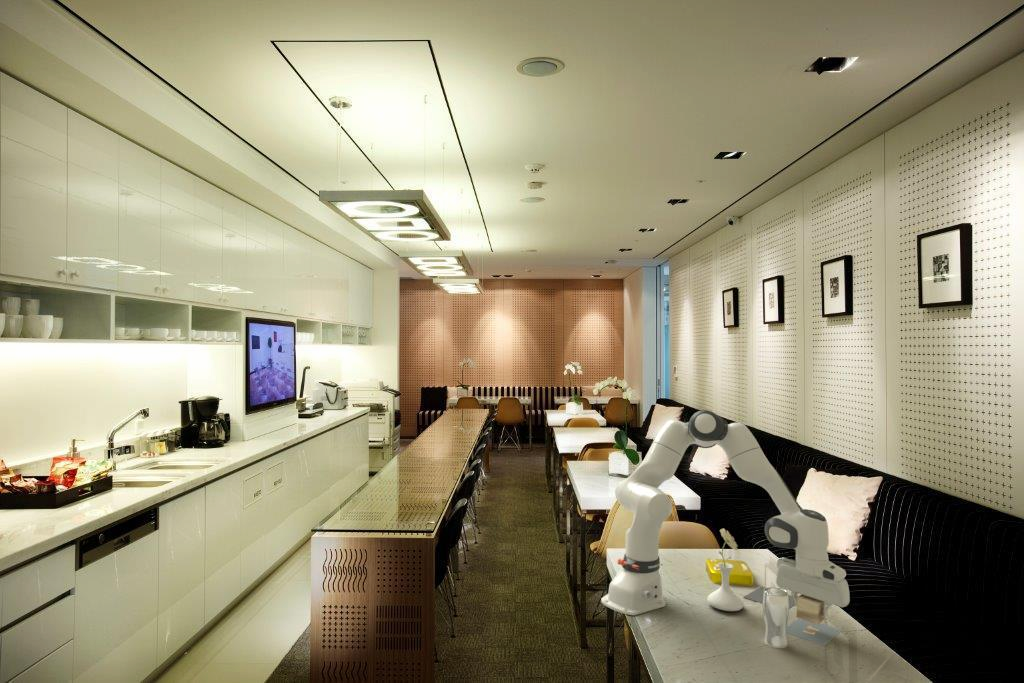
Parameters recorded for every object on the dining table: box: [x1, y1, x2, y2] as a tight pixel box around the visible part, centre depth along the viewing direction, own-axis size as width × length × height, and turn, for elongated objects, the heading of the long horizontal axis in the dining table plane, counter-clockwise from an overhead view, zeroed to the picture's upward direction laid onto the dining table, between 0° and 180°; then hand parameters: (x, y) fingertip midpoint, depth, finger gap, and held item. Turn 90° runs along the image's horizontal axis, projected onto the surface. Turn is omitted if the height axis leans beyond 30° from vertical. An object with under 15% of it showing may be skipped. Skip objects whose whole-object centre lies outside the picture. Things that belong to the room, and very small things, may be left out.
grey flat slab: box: [786, 618, 842, 647], centre depth 175 cm, size 14×12×1 cm
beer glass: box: [762, 586, 790, 649], centre depth 167 cm, size 7×7×15 cm
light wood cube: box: [796, 594, 827, 625], centre depth 174 cm, size 6×6×6 cm
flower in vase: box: [706, 528, 745, 612], centre depth 192 cm, size 13×11×25 cm
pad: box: [743, 585, 795, 609], centre depth 197 cm, size 14×14×1 cm
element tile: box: [705, 558, 754, 587], centre depth 217 cm, size 15×15×5 cm
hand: (811, 610), depth 174 cm, fingers closed on light wood cube, 6 cm apart
